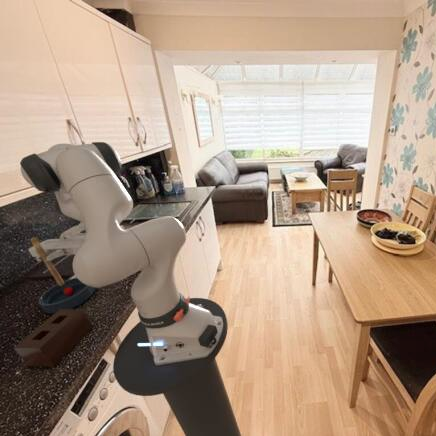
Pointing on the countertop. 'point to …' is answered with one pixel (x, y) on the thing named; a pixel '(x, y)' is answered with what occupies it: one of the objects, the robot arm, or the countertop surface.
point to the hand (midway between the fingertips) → (42, 259)
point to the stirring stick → (48, 263)
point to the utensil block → (54, 338)
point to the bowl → (65, 296)
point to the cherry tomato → (68, 291)
